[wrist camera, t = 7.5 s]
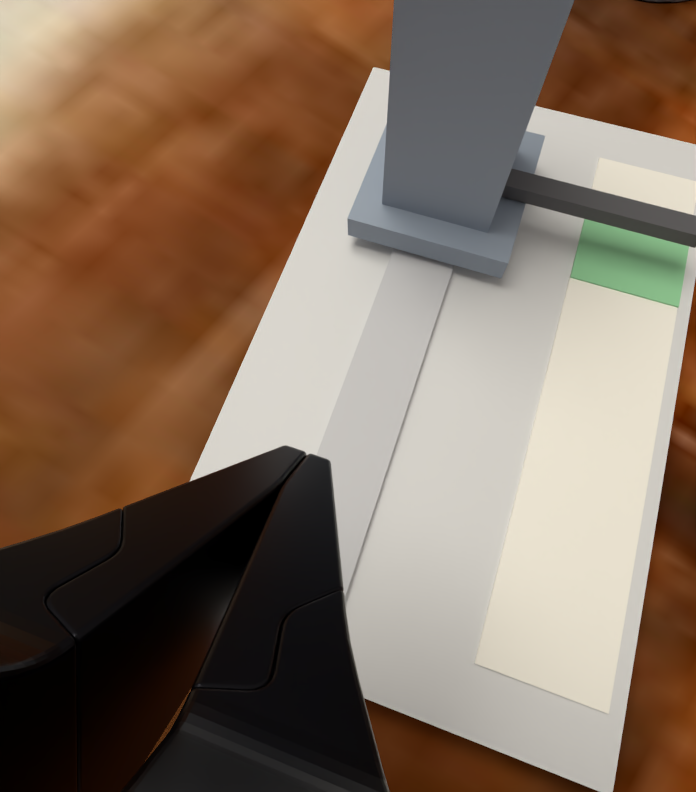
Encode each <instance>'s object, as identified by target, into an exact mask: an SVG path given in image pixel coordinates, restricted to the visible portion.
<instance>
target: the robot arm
mask: <svg viewBox="0 0 696 792" xmlns="http://www.w3.org/2000/svg"><path fill="white" fill-rule="evenodd" d="M343 591H344V587H343V577H342V567H341V558H340V548H339V538H338V528H337V518H336V508H335V498H334V488H333V478H332V468H331V462H330V460H328V459H326V458H323V457H320V456H317V455H314V454H308V455H307V454H306V452H305V451H302V450H299V449H296V448H293V447H291V446H288V445H284V446H281V447H278V448H276V449H273V450H270V451H268V452H265V453H263V454H260V455H257V456H255V457H252V458H250V459H247V460H244V461H242V462H239V463H237V464H234V465H231V466H229V467H226V468H224V469H221V470H218V471H216V472H213V473H211V474H208V475H205V476H203V477H200V478H197V479H195V480H192V481H190V482H187V483H184V484H182V485H179V486H177V487H174V488H171V489H169V490H166V491H164V492H161V493H158V494H156V495H153V496H151V497H148V498H145V499H143V500H140V501H137V502H135V503H132V504H130V505H127V506H125V507H123V511H122V509H116V510H114V511H111V512H108V513H106V514H103V515H100V516H98V517H95V518H92V519H90V520H87V521H84V522H81V523H78V524H76V525H73V526H70V527H67V528H64V529H62V530H58V531H55V532H52V533H49V534H46V535H42V536H39V537H36V538H33V539H30V540H26V541H23V542H20V543H17V544H13V545H10V546H6V547H3V548H0V792H390V791H389V788H388V785H387V782H386V778H385V775H384V771H383V768H382V764H381V761H380V757H379V753H378V749H377V745H376V742H375V738H374V734H373V730H372V726H371V722H370V719H369V715H368V711H367V707H366V703H365V700H364V696H363V692H362V688H361V684H360V681H359V677H358V673H357V668H356V664H355V659H354V655H353V650H352V646H351V641H350V634H349V627H348V620H347V614H346V604H345V595H344V592H343ZM191 687H192V688H191ZM190 689H191V692H190V693H189V695H188V697H187V699H186V701H185V704H184V706H183V708H182V710H181V712H180V714H179V716H178V717H177V719H176V721H175V723H174V725H173V727H172V728H171V730H170V732H169V733H168V734H167V736H166V737H165V738H164V740H163V741H162V742H161V743H160V744H159V746H158V747H157V748H156V749H155V751H154V752H153V753H152V754H151V755H150V757H149V758H148V759H147V757H148V756H149V754H150V752H151V751H152V749H153V748H154V746H155V745H156V743H157V741H158V740H159V738H160V737H161V735H162V733H163V732H164V730H165V729H166V727H167V725H168V724H169V722H170V721H171V719H172V717H173V716H174V714H175V713H176V711H177V709H178V708H179V706H180V705H181V703H182V702H183V700H184V698H185V697H186V695H187V694H188V692H189V690H190ZM146 759H147V760H146ZM145 760H146V761H145ZM144 762H145V763H144Z"/></svg>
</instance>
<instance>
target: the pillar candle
mask: <svg viewBox="0 0 696 792" xmlns="http://www.w3.org/2000/svg"><path fill="white" fill-rule="evenodd" d="M644 1H652V2H653V1H655V2H680V1H687V0H644Z"/></svg>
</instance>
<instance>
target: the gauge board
mask: <svg viewBox="0 0 696 792" xmlns="http://www.w3.org/2000/svg"><path fill="white" fill-rule="evenodd" d="M389 78H390V71H388V70H383V69H379V68H375V67H373V70H372V72H371V74H370V76H369V79H368V81H367V83H366V85H365V88H364V90H363V92H362V94H361V97H360V99H359V101H358V103H357V106H356V108H355V110H354V112H353V115H352V117H351V119H350V121H349V124H348V126H347V128H346V130H345V133H344V135H343V137H342V139H341V142H340V144H339V146H338V148H337V151H336V153H335V155H334V157H333V160H332V162H331V164H330V166H329V169H328V171H327V173H326V175H325V178H324V180H323V182H322V184H321V187H320V189H319V191H318V193H317V196H316V198H315V200H314V202H313V205H312V207H311V209H310V211H309V214H308V216H307V218H306V220H305V223H304V225H303V227H302V230H301V232H300V234H299V236H298V239H297V241H296V243H295V245H294V248H293V250H292V252H291V254H290V257H289V259H288V261H287V263H286V266H285V268H284V270H283V272H282V275H281V277H280V279H279V281H278V284H277V286H276V288H275V290H274V293H273V295H272V297H271V299H270V302H269V304H268V306H267V308H266V311H265V313H264V315H263V317H262V320H261V322H260V324H259V326H258V329H257V331H256V333H255V335H254V338H253V340H252V342H251V344H250V347H249V349H248V351H247V353H246V356H245V358H244V360H243V362H242V365H241V367H240V369H239V371H238V374H237V376H236V378H235V380H234V383H233V385H232V387H231V389H230V392H229V394H228V396H227V398H226V401H225V403H224V405H223V408H222V410H221V412H220V414H219V417H218V419H217V421H216V423H215V426H214V428H213V430H212V432H211V435H210V437H209V439H208V441H207V444H206V446H205V448H204V450H203V453H202V455H201V457H200V459H199V462H198V464H197V466H196V468H195V471H194V473H193V475H192V477H191V480H190V481H192V480H195V479H197V478H200V477H203V476H205V475H208V474H211V473H213V472H216V471H218V470H221V469H224V468H226V467H229V466H231V465H234V464H237V463H239V462H242V461H244V460H247V459H250V458H252V457H255V456H257V455H260V454H263V453H265V452H268V451H270V450H273V449H276V448H278V447H281V446H284V445H288V446H291V447H293V448H296V449H299V450H302V451H305V452H306V454H307V455H308V454H314V455H317V456H320V457H323V458H326V459H328V460H330V462H331V468H332V478H333V488H334V498H335V508H336V518H337V528H338V538H339V548H340V558H341V567H342V577H343V587H344V591H343V592H344V595H345V604H346V614H347V620H348V627H349V634H350V641H351V646H352V650H353V655H354V659H355V664H356V668H357V673H358V677H359V681H360V684H361V688H362V692H363V696H364V698H365V699H367V700H370V701H373V702H375V703H378V704H380V705H383V706H385V707H388V708H390V709H393V710H395V711H398V712H400V713H403V714H405V715H408V716H410V717H413V718H415V719H418V720H420V721H423V722H425V723H428V724H430V725H433V726H435V727H438V728H441V729H443V730H446V731H448V732H451V733H453V734H456V735H458V736H461V737H463V738H466V739H468V740H471V741H473V742H476V743H478V744H481V745H483V746H486V747H488V748H491V749H493V750H496V751H498V752H501V753H503V754H506V755H509V756H511V757H514V758H516V759H519V760H521V761H524V762H526V763H529V764H531V765H534V766H536V767H539V768H541V769H544V770H546V771H549V772H551V773H554V774H556V775H559V776H561V777H564V778H566V779H569V780H571V781H574V782H577V783H579V784H582V785H584V786H587V787H589V788H592V789H594V790H597V791H599V792H613V788H614V781H615V775H616V769H617V763H618V757H619V750H620V744H621V738H622V732H623V726H624V719H625V713H626V707H627V701H628V694H629V688H630V682H631V676H632V670H633V663H634V657H635V651H636V645H637V639H638V632H639V626H640V620H641V614H642V607H643V601H644V595H645V589H646V583H647V576H648V570H649V564H650V558H651V552H652V545H653V539H654V533H655V527H656V521H657V514H658V508H659V502H660V496H661V489H662V483H663V477H664V471H665V465H666V458H667V452H668V446H669V440H670V434H671V427H672V421H673V415H674V409H675V402H676V396H677V390H678V384H679V378H680V371H681V365H682V359H683V353H684V347H685V340H686V334H687V328H688V322H689V316H690V309H691V303H692V297H693V291H694V284H695V278H696V247H695V248H693V247H689V246H685V245H682V244H678V243H674V242H670V241H666V240H663V239H659V238H655V237H651V236H648V235H644V234H640V233H636V232H632V231H629V230H625V229H621V228H617V227H613V226H610V225H606V224H602V223H598V222H595V221H591V220H587V219H583V218H579V217H576V216H572V215H568V214H564V213H560V212H557V211H553V210H549V209H545V208H542V207H538V206H534V205H530V204H525V208H524V211H523V215H522V218H521V222H520V225H519V228H518V232H517V235H516V239H515V242H514V246H513V249H512V252H511V256H510V259H509V263H508V265H507V267H506V269H505V271H504V274H503V276H502V278H497V277H494V276H490V275H487V274H483V273H480V272H476V271H473V270H469V269H466V268H462V267H459V266H455V265H452V264H448V263H445V262H441V261H437V260H434V259H430V258H427V257H423V256H420V255H416V254H413V253H409V252H406V251H402V250H399V249H395V248H392V247H388V246H385V245H381V244H378V243H374V242H371V241H367V240H364V239H360V238H356V237H353V236H349V235H348V222H347V218H348V216H349V213H350V211H351V208H352V206H353V204H354V201H355V199H356V196H357V194H358V192H359V189H360V187H361V184H362V182H363V180H364V177H365V175H366V172H367V170H368V167H369V165H370V163H371V160H372V158H373V155H374V153H375V151H376V148H377V146H378V143H379V141H380V139H381V136H382V134H383V131H384V129H385V126H386V124H387V111H388V95H389ZM526 131H528V132H532V133H536V134H540V135H544V136H545V139H544V143H543V146H542V149H541V153H540V156H539V160H538V163H537V167H536V170H535V173H534V174H535V175H539V176H543V177H547V178H551V179H555V180H559V181H563V182H566V183H570V184H574V185H578V186H582V187H586V188H590V189H594V190H598V191H602V192H605V193H609V194H613V195H617V196H621V197H625V198H629V199H633V200H637V201H640V202H644V203H648V204H652V205H656V206H660V207H664V208H668V209H672V210H675V211H679V212H683V213H687V214H691V215H695V216H696V145H695V144H691V143H687V142H683V141H678V140H674V139H670V138H666V137H662V136H658V135H654V134H649V133H645V132H641V131H637V130H633V129H629V128H624V127H620V126H616V125H612V124H608V123H604V122H600V121H595V120H591V119H587V118H583V117H579V116H575V115H570V114H566V113H562V112H558V111H554V110H550V109H545V108H541V107H537V106H535V107H534V110H533V112H532V115H531V118H530V120H529V123H528V126H527V129H526Z"/></svg>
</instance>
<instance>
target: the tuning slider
mask: <svg viewBox="0 0 696 792" xmlns="http://www.w3.org/2000/svg"><path fill="white" fill-rule="evenodd" d="M573 2H574V0H394V12H393V29H392V45H391V62H390V78H389V95H388V111H387V124H386V126H385V129H384V131H383V134H382V136H381V139H380V141H379V143H378V146H377V148H376V151H375V153H374V155H373V158H372V160H371V163H370V165H369V167H368V170H367V172H366V175H365V177H364V180H363V182H362V184H361V187H360V189H359V192H358V194H357V196H356V199H355V201H354V204H353V206H352V208H351V211H350V213H349V216H348V218H347V222H348V235H349V236H353V237H356V238H360V239H364V240H367V241H371V242H374V243H378V244H381V245H385V246H388V247H392V248H395V249H399V250H402V251H406V252H409V253H413V254H416V255H420V256H423V257H427V258H430V259H434V260H437V261H441V262H445V263H448V264H452V265H455V266H459V267H462V268H466V269H469V270H473V271H476V272H480V273H483V274H487V275H490V276H494V277H497V278H502V276H503V274H504V271H505V269H506V267H507V265H508V263H509V259H510V256H511V252H512V249H513V246H514V242H515V239H516V235H517V232H518V228H519V225H520V222H521V218H522V215H523V211H524V208H525V204H530V205H534V206H538V207H542V208H545V209H549V210H553V211H557V212H560V213H564V214H568V215H572V216H576V217H579V218H583V219H587V220H591V221H595V222H598V223H602V224H606V225H610V226H613V227H617V228H621V229H625V230H629V231H632V232H636V233H640V234H644V235H648V236H651V237H655V238H659V239H663V240H666V241H670V242H674V243H678V244H682V245H685V246H689V247H693V248H695V247H696V216H695V215H691V214H687V213H683V212H679V211H675V210H672V209H668V208H664V207H660V206H656V205H652V204H648V203H644V202H640V201H637V200H633V199H629V198H625V197H621V196H617V195H613V194H609V193H605V192H602V191H598V190H594V189H590V188H586V187H582V186H578V185H574V184H570V183H566V182H563V181H559V180H555V179H551V178H547V177H543V176H539V175H535V174H534V173H535V170H536V167H537V163H538V160H539V156H540V153H541V149H542V146H543V143H544V139H545V136H544V135H540V134H536V133H532V132H528V131H526V129H527V126H528V123H529V120H530V118H531V115H532V112H533V110H534V107H535V104H536V102H537V99H538V96H539V94H540V91H541V88H542V86H543V83H544V80H545V77H546V75H547V72H548V69H549V67H550V64H551V61H552V59H553V56H554V53H555V51H556V48H557V45H558V42H559V40H560V37H561V34H562V32H563V29H564V26H565V24H566V21H567V18H568V16H569V13H570V10H571V8H572V5H573Z"/></svg>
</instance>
